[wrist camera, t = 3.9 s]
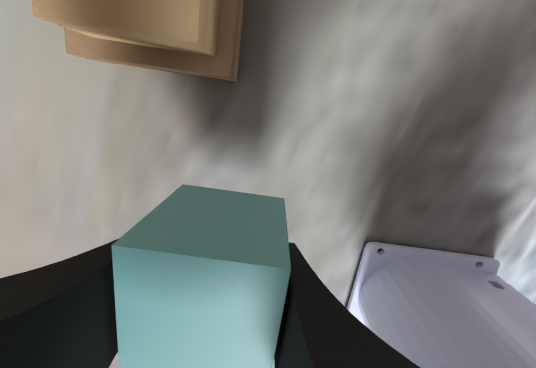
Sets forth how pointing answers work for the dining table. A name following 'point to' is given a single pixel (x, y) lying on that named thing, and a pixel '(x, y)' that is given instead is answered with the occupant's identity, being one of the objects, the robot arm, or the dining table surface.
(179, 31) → the oak slab
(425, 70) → the dining table surface
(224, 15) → the brown square slab
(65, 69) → the dining table surface
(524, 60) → the dining table surface
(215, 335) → the teal block
